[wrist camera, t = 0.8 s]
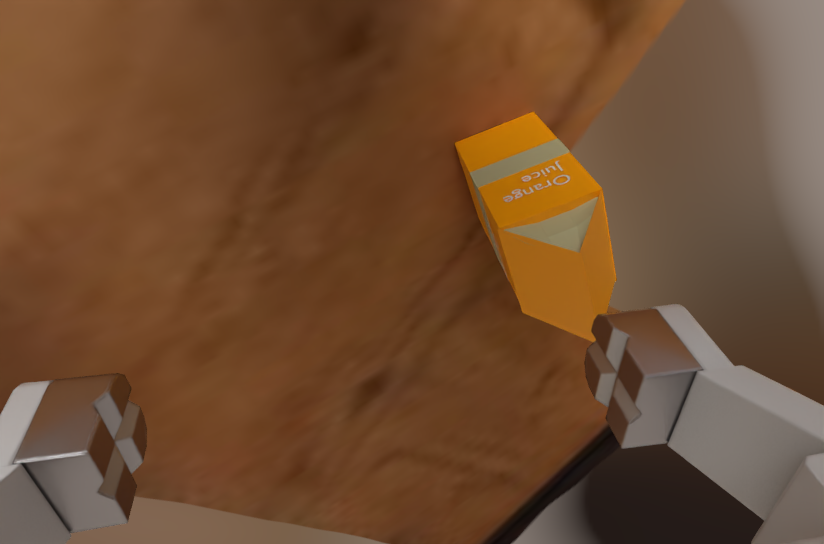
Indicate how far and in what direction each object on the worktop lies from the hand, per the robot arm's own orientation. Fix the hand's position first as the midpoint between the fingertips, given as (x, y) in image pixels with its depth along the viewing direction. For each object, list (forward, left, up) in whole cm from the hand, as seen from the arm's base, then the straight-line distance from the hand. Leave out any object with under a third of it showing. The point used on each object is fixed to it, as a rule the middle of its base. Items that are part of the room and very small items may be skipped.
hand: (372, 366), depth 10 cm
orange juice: (+16, +16, -40) cm, 46 cm away
